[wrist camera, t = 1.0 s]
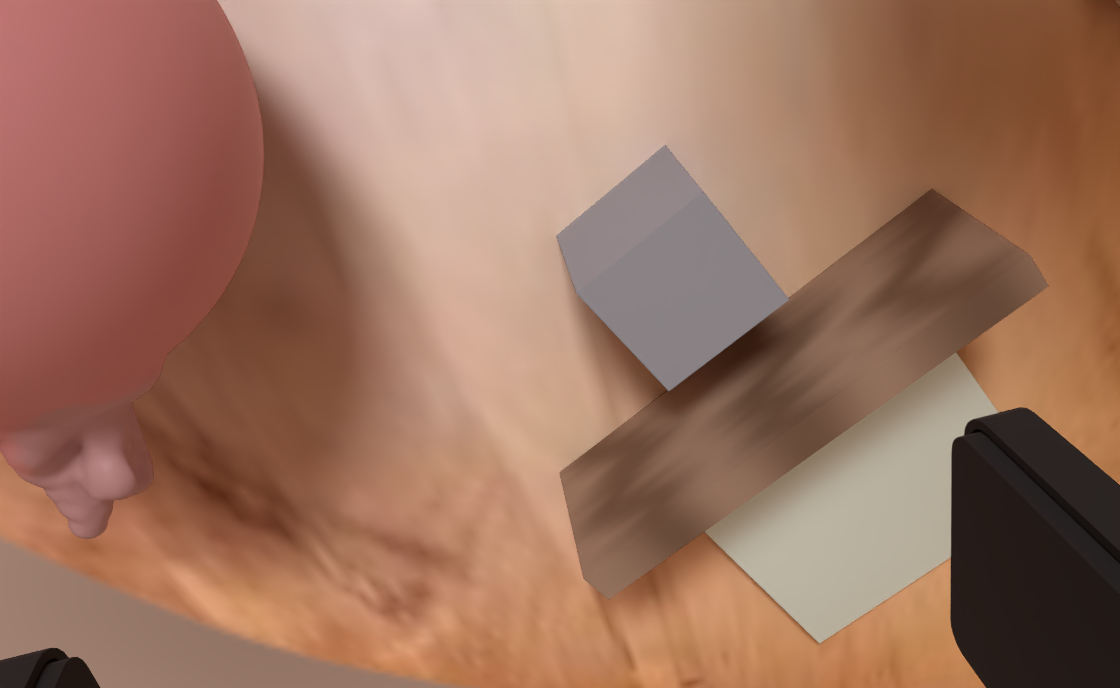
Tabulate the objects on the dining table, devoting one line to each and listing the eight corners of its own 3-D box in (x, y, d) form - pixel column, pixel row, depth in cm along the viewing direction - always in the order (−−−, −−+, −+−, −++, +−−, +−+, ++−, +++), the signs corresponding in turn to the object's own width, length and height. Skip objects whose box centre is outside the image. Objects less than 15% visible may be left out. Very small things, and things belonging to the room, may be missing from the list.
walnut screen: (931, 189, 38) (1030, 255, 32) (949, 216, 39) (1049, 286, 33) (559, 472, 42) (583, 578, 36) (581, 492, 43) (608, 599, 37)
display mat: (913, 295, 40) (922, 303, 40) (1043, 480, 47) (1052, 489, 46) (660, 482, 43) (664, 492, 43) (813, 632, 50) (819, 643, 49)
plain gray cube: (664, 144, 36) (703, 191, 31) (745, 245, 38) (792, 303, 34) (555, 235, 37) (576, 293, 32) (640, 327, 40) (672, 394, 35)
